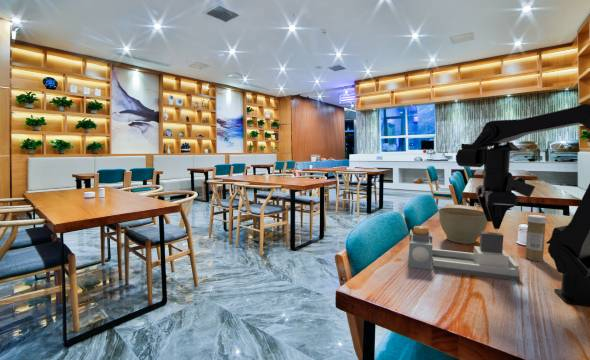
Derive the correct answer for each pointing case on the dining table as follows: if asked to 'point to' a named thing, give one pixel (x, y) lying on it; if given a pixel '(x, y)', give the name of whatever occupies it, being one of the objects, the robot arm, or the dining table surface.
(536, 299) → the dining table surface
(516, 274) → the rail track
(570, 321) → the dining table surface
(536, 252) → the sprinkles bottle
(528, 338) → the dining table surface
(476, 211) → the planter bowl
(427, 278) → the dining table surface
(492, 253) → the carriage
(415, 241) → the cabinet
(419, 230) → the button
